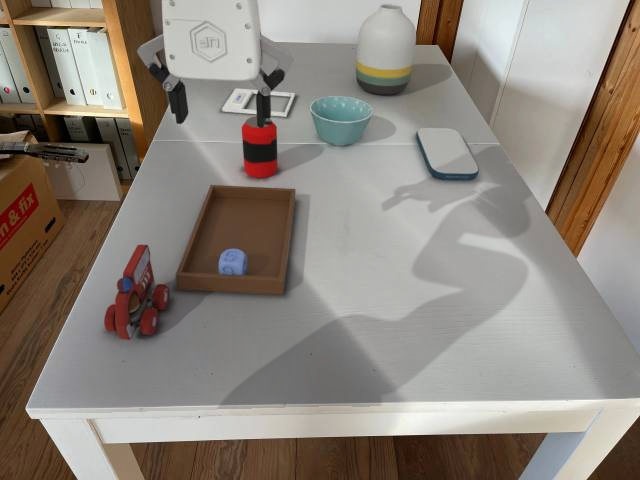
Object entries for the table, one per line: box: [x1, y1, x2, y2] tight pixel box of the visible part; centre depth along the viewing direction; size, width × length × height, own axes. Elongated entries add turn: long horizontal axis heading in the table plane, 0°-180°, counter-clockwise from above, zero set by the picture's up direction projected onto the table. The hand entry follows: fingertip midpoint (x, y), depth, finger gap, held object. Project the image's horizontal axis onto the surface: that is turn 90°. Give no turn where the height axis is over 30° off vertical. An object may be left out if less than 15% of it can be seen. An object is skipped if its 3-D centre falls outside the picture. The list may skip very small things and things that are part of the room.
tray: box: [175, 184, 296, 296], centre depth 93 cm, size 28×18×3 cm, turn 178°
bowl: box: [309, 95, 374, 147], centre depth 125 cm, size 16×16×8 cm
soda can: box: [241, 115, 278, 179], centre depth 110 cm, size 8×8×12 cm
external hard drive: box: [415, 127, 480, 181], centre depth 122 cm, size 24×12×2 cm, turn 1°
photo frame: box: [221, 87, 296, 118], centre depth 142 cm, size 15×1×18 cm
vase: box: [355, 3, 417, 96], centre depth 148 cm, size 17×17×24 cm
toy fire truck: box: [103, 244, 170, 341], centre depth 75 cm, size 7×12×10 cm, turn 175°
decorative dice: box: [219, 249, 247, 275], centre depth 84 cm, size 4×4×4 cm
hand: (222, 121), depth 60 cm, fingers open, 9 cm apart
